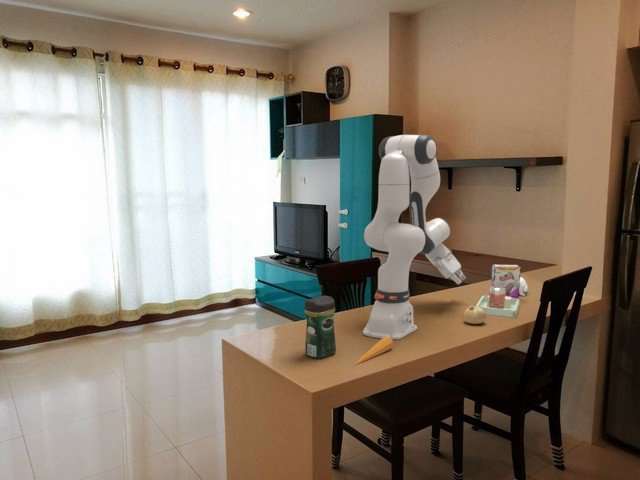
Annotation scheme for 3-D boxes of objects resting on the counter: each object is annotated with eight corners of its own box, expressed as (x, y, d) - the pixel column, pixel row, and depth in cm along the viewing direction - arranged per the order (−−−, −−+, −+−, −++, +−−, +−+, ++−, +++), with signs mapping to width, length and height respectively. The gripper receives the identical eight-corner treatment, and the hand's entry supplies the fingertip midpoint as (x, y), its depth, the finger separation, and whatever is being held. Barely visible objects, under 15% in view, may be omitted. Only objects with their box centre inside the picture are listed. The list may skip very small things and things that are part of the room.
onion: (466, 319, 194) (467, 301, 194) (487, 322, 190) (488, 304, 189) (461, 324, 188) (461, 306, 187) (482, 327, 184) (483, 309, 183)
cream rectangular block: (509, 309, 205) (510, 299, 204) (487, 306, 209) (487, 297, 208) (511, 306, 209) (511, 296, 209) (488, 303, 213) (489, 294, 213)
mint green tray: (514, 319, 193) (515, 310, 192) (475, 315, 199) (475, 306, 199) (519, 306, 211) (519, 298, 210) (482, 303, 217) (482, 295, 217)
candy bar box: (492, 303, 217) (494, 266, 215) (490, 300, 222) (491, 264, 220) (519, 303, 216) (521, 266, 214) (515, 300, 221) (517, 264, 219)
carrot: (386, 348, 165) (381, 336, 165) (397, 346, 162) (392, 333, 162) (350, 373, 150) (345, 359, 150) (361, 371, 147) (356, 357, 147)
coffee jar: (323, 347, 164) (323, 292, 162) (339, 353, 158) (339, 296, 156) (300, 354, 158) (299, 297, 155) (316, 361, 152) (316, 302, 149)
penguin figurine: (510, 276, 230) (518, 274, 239) (508, 294, 230) (517, 292, 240) (524, 278, 226) (532, 276, 235) (522, 296, 226) (531, 294, 236)
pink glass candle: (503, 314, 197) (504, 290, 195) (487, 312, 200) (488, 288, 198) (505, 310, 202) (506, 286, 201) (489, 308, 205) (490, 285, 203)
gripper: (439, 254, 198) (463, 280, 195) (450, 248, 216) (472, 272, 213) (428, 264, 201) (451, 290, 198) (439, 257, 219) (461, 281, 216)
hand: (462, 281), depth 206 cm, fingers open, 8 cm apart
